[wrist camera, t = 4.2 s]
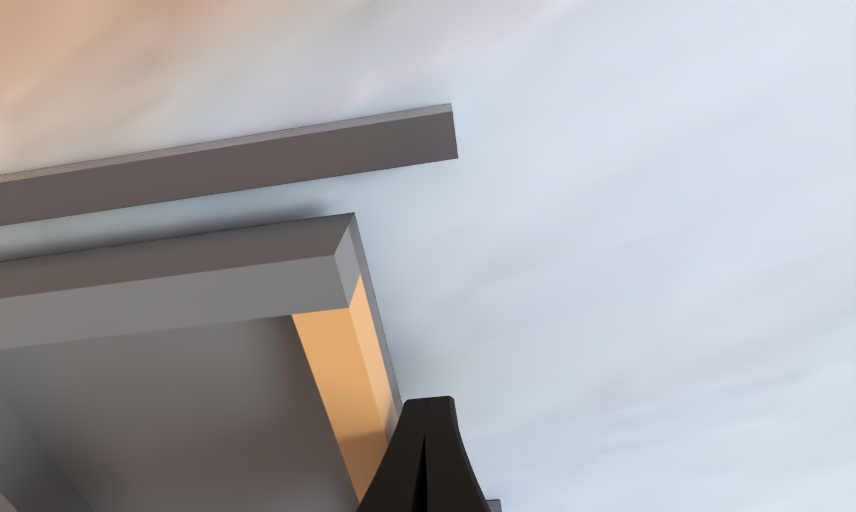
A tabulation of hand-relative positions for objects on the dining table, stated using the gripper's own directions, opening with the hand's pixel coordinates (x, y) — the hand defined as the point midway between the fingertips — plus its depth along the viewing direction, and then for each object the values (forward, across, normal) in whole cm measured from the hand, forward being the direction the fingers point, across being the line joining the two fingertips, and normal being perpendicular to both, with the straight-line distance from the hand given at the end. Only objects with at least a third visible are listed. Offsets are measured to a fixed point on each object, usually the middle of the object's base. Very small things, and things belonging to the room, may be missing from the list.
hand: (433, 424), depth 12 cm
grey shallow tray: (+2, +7, 0) cm, 7 cm away
